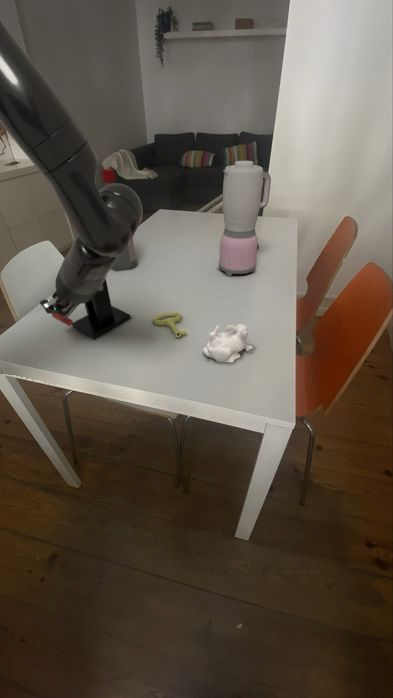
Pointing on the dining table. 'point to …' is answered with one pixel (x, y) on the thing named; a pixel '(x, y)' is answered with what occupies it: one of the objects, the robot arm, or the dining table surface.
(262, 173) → the blender
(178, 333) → the key
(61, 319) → the lever
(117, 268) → the liquor
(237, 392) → the dining table surface
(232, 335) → the rabbit figurine
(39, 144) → the robot arm
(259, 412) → the dining table surface
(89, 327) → the switch bracket
